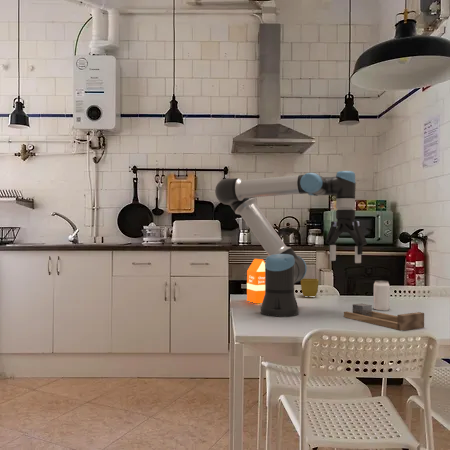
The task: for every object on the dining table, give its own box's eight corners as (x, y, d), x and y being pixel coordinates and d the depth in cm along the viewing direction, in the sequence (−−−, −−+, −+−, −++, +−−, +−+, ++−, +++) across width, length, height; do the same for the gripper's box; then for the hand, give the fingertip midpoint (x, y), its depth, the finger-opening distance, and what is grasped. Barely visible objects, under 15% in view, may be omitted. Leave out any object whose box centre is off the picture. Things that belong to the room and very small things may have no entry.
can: (373, 310, 189) (373, 281, 190) (373, 307, 196) (373, 280, 196) (389, 311, 187) (389, 282, 187) (389, 308, 193) (389, 280, 193)
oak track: (402, 330, 150) (402, 315, 150) (343, 317, 174) (343, 304, 174) (424, 327, 156) (424, 313, 156) (364, 314, 179) (364, 301, 179)
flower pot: (300, 295, 231) (300, 278, 231) (317, 296, 230) (317, 278, 230) (300, 298, 222) (300, 279, 222) (318, 298, 221) (318, 280, 221)
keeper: (362, 319, 170) (362, 306, 170) (352, 317, 174) (352, 304, 174) (371, 318, 172) (371, 305, 172) (361, 316, 177) (361, 303, 177)
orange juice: (255, 304, 203) (255, 259, 203) (246, 301, 211) (246, 258, 211) (270, 303, 206) (270, 259, 206) (261, 300, 214) (261, 258, 214)
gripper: (376, 208, 174) (376, 263, 174) (330, 210, 196) (329, 259, 195) (363, 208, 170) (362, 264, 170) (317, 210, 192) (316, 259, 191)
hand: (344, 261), depth 183 cm, fingers open, 13 cm apart
